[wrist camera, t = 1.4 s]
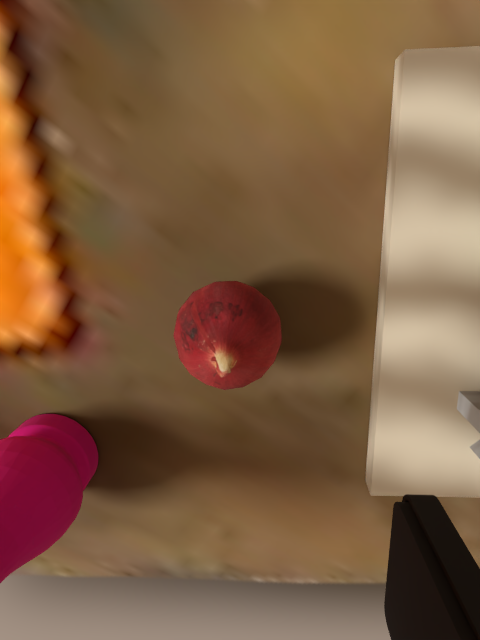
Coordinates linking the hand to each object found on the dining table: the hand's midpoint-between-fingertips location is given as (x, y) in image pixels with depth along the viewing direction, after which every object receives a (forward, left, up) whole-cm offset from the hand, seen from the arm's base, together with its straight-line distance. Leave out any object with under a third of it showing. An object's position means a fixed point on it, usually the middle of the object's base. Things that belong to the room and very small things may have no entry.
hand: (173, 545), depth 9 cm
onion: (0, 0, -18) cm, 18 cm away
